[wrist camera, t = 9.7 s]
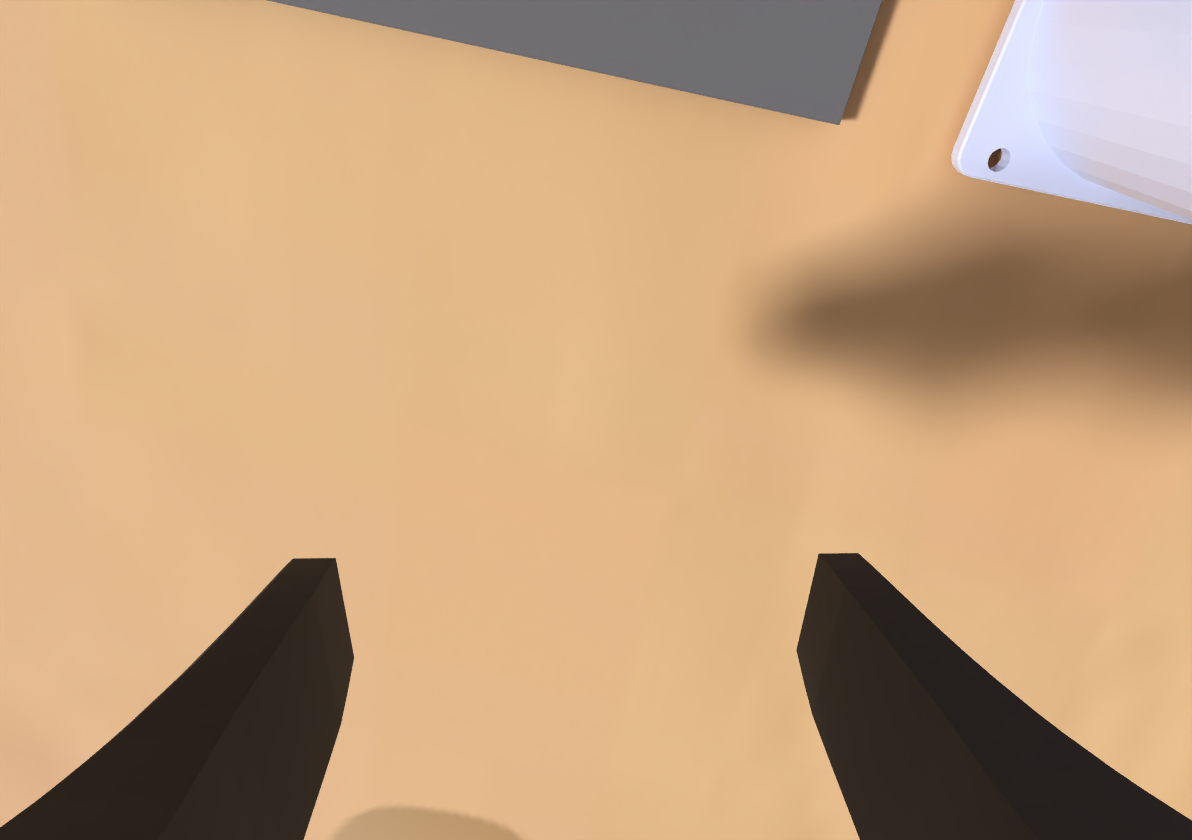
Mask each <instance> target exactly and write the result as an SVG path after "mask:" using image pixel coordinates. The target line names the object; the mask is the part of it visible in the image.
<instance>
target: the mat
mask: <svg viewBox="0 0 1192 840" xmlns="http://www.w3.org/2000/svg"><path fill="white" fill-rule="evenodd" d="M268 1H273V2H277V3H282V4H286V5H291V6H296V7H300V8H305V9H309V10H314V11H318V12H323V13H328V14H332V15H337V16H341V17H346V18H351V19H355V20H360V21H364V22H369V23H373V24H378V25H383V26H387V27H392V28H396V29H401V30H406V31H410V32H415V33H419V34H424V35H428V36H433V37H438V38H442V39H447V40H451V41H456V42H461V43H465V44H470V45H474V46H479V47H483V48H488V49H493V50H497V51H502V52H506V53H511V54H516V55H520V56H525V57H529V58H534V59H538V60H543V61H548V62H552V63H557V64H561V65H566V66H571V67H575V68H580V69H584V70H589V71H593V72H598V73H603V74H607V75H612V76H616V77H621V78H626V79H630V80H635V81H639V82H644V83H648V84H653V85H658V86H662V87H667V88H671V89H676V90H680V91H685V92H690V93H694V94H699V95H703V96H708V97H713V98H717V99H722V100H726V101H731V102H735V103H740V104H745V105H749V106H754V107H758V108H763V109H768V110H772V111H777V112H781V113H786V114H790V115H795V116H800V117H804V118H809V119H813V120H818V121H823V122H827V123H832V124H836V125H840V122H841V119H842V116H843V113H844V110H845V107H846V104H847V101H848V98H849V95H850V92H851V89H852V87H853V84H854V81H855V78H856V75H857V72H858V69H859V66H860V63H861V60H862V57H863V54H864V51H865V49H866V46H867V43H868V40H869V37H870V34H871V31H872V28H873V25H874V22H875V19H876V16H877V13H878V11H879V8H880V5H881V2H882V0H268Z"/></svg>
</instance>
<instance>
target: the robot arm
mask: <svg viewBox="0 0 1192 840" xmlns="http://www.w3.org/2000/svg"><path fill="white" fill-rule="evenodd" d="M1000 148H1001V151H1002V156H1001V159H1000V161H999V162H998V163H997V165H995V166H993V167H992V168H989V166H988V159H989V157H990V155H991V154H992V153H993V152H994V151H996V150H997V149H1000ZM951 158H952V165H953V166H954V168H955V169H956V171H958V172H960V173H962V174H964V175H966V176H968V177H972V178H976V179H981V180H986V181H990V182H995V183H1000V184H1004V185H1009V186H1014V187H1018V188H1023V189H1028V190H1033V191H1037V192H1042V193H1047V194H1051V195H1056V196H1061V197H1065V198H1070V199H1075V200H1079V201H1084V202H1089V203H1093V204H1098V205H1103V206H1108V207H1112V208H1117V209H1122V210H1126V211H1131V212H1136V213H1140V214H1145V215H1150V216H1154V217H1159V218H1164V219H1168V220H1173V221H1178V222H1183V223H1187V224H1192V0H1015V2H1014V5H1013V7H1012V10H1011V12H1010V14H1009V17H1008V19H1007V22H1006V24H1005V26H1004V29H1003V31H1002V33H1001V36H1000V38H999V41H998V43H997V45H996V48H995V50H994V53H993V55H992V57H991V60H990V62H989V65H988V67H987V69H986V72H985V74H984V76H983V79H982V81H981V84H980V86H979V88H978V91H977V93H976V96H975V98H974V100H973V103H972V105H971V108H970V110H969V112H968V115H967V117H966V119H965V122H964V124H963V127H962V129H961V131H960V134H959V136H958V139H957V141H956V143H955V146H954V148H953V152H952V156H951ZM797 654H798V658H799V663H800V667H801V671H802V675H803V680H804V684H805V688H806V692H807V696H808V700H809V703H810V707H811V711H812V715H813V717H814V720H815V723H816V726H817V728H818V731H819V734H820V736H821V739H822V742H823V744H824V747H825V750H826V752H827V755H828V758H829V760H830V763H831V766H832V768H833V771H834V773H835V776H836V779H837V781H838V784H839V786H840V789H841V791H842V794H843V797H844V799H845V802H846V804H847V807H848V810H849V812H850V815H851V817H852V820H853V823H854V825H855V828H856V830H857V833H858V836H859V838H860V840H1192V820H1190V819H1188V818H1187V817H1185V816H1184V815H1182V814H1181V813H1179V812H1178V811H1176V810H1174V809H1173V808H1171V807H1170V806H1168V805H1167V804H1165V803H1163V802H1162V801H1160V800H1159V799H1157V798H1156V797H1154V796H1153V795H1151V794H1149V793H1148V792H1146V791H1145V790H1143V789H1142V788H1140V787H1139V786H1137V785H1136V784H1134V783H1133V782H1131V781H1130V780H1129V779H1127V778H1126V777H1124V776H1123V775H1121V774H1120V773H1118V772H1117V771H1115V770H1114V769H1112V768H1111V767H1110V766H1108V765H1107V764H1105V763H1104V762H1103V761H1101V760H1100V759H1099V758H1097V757H1096V756H1094V755H1093V754H1092V753H1090V752H1089V751H1088V750H1086V749H1085V748H1083V747H1082V746H1081V745H1079V744H1078V743H1076V742H1075V741H1074V740H1072V739H1071V738H1070V737H1068V736H1067V735H1065V734H1064V733H1063V732H1061V731H1060V730H1059V729H1057V728H1056V727H1055V726H1054V725H1052V724H1051V723H1050V722H1048V721H1047V720H1046V719H1044V718H1043V717H1042V716H1041V715H1039V714H1038V713H1037V712H1035V711H1034V710H1033V709H1032V708H1031V707H1029V706H1028V705H1027V704H1026V703H1024V702H1023V701H1022V700H1021V699H1020V698H1018V697H1017V696H1016V695H1015V694H1013V693H1012V692H1011V691H1010V690H1009V689H1007V688H1006V687H1005V686H1004V685H1002V684H1001V683H1000V682H999V681H998V680H996V679H995V678H994V677H993V676H992V675H990V674H989V673H988V672H987V671H986V670H985V669H983V668H982V667H981V666H980V665H979V664H978V663H977V662H975V661H974V660H973V659H972V658H971V657H970V656H969V655H967V654H966V653H965V652H964V651H963V650H962V649H961V648H960V647H958V646H957V645H956V644H955V643H954V642H953V641H952V640H951V639H950V638H948V637H947V636H946V635H945V634H944V633H943V632H942V631H941V630H940V629H939V628H938V627H936V626H935V625H934V624H933V623H932V622H931V621H930V620H929V619H928V618H927V617H926V616H925V615H924V614H922V613H921V612H920V611H919V610H918V609H917V608H916V607H915V606H914V605H913V604H912V603H911V602H910V601H909V600H908V599H907V598H905V597H904V596H903V595H902V594H901V593H900V592H899V591H898V590H897V589H896V588H895V587H894V586H893V585H892V584H891V583H890V582H889V581H888V580H887V579H885V578H884V577H883V576H882V575H881V574H880V573H879V572H878V571H877V570H876V569H875V568H874V567H873V566H872V565H871V564H870V563H868V562H867V561H866V560H865V559H864V558H863V557H862V556H861V555H860V554H858V553H838V554H819V555H818V559H817V564H816V568H815V572H814V577H813V581H812V585H811V590H810V594H809V598H808V603H807V607H806V611H805V616H804V620H803V624H802V629H801V633H800V637H799V642H798V646H797ZM353 660H354V655H353V649H352V644H351V639H350V633H349V628H348V622H347V617H346V612H345V606H344V601H343V595H342V590H341V585H340V579H339V574H338V568H337V563H336V558H310V559H292V560H291V561H290V562H289V563H288V564H287V565H286V566H285V567H284V568H283V569H282V570H281V571H280V572H279V573H278V574H277V575H276V577H275V578H274V579H273V580H272V581H271V582H270V583H269V584H268V585H267V586H266V587H265V588H264V589H263V591H262V592H261V593H260V594H259V595H258V596H257V597H256V598H255V599H254V600H253V601H252V602H251V603H250V605H249V606H248V607H247V608H246V609H245V610H244V611H243V612H242V613H241V614H240V615H239V616H238V617H237V618H236V619H235V620H234V622H233V623H232V624H231V625H230V626H229V627H228V628H227V629H226V630H225V631H224V632H223V633H222V634H221V635H220V636H219V637H218V638H217V639H216V640H215V641H214V642H213V643H212V644H211V645H210V646H209V647H208V648H207V649H206V650H205V651H204V652H203V653H202V654H201V655H200V656H199V657H198V658H197V660H196V661H195V662H194V663H193V664H192V665H191V666H190V667H189V668H188V669H187V670H186V671H185V672H184V673H183V674H182V675H181V676H180V677H178V678H177V679H176V680H175V681H174V682H173V683H172V684H171V685H170V686H169V687H168V688H167V689H166V690H165V691H164V692H163V693H161V694H160V695H159V696H158V697H157V698H156V699H155V700H154V701H153V702H152V703H151V704H150V705H149V706H148V707H147V708H145V709H144V710H143V711H142V712H141V713H140V714H139V715H138V716H137V717H136V718H135V719H134V720H133V721H132V722H130V723H129V724H128V725H127V726H126V727H125V728H124V729H123V730H122V731H120V732H119V733H118V734H117V735H116V736H115V737H114V738H112V739H111V740H110V741H109V742H108V743H107V744H106V745H104V746H103V747H102V748H101V749H100V750H99V751H97V752H96V753H95V754H94V755H93V756H92V757H90V758H89V759H88V760H87V761H86V762H84V763H83V764H82V765H81V766H80V767H78V768H77V769H76V770H75V771H73V772H72V773H71V774H70V775H68V776H67V777H66V778H65V779H64V780H62V781H61V782H60V783H59V784H57V785H56V786H55V787H54V788H52V789H51V790H50V791H49V792H47V793H46V794H45V795H44V796H42V797H41V798H40V799H38V800H37V801H36V802H35V803H33V804H32V805H30V806H29V807H28V808H26V809H25V810H24V811H22V812H21V813H20V814H18V815H17V816H15V817H14V818H13V819H11V820H10V821H9V822H7V823H6V824H4V825H3V826H2V827H0V840H303V839H304V836H305V833H306V830H307V827H308V824H309V821H310V818H311V815H312V812H313V809H314V806H315V803H316V800H317V797H318V794H319V791H320V788H321V785H322V782H323V779H324V775H325V772H326V769H327V766H328V763H329V760H330V757H331V754H332V751H333V747H334V744H335V741H336V738H337V735H338V732H339V728H340V725H341V721H342V716H343V711H344V707H345V702H346V697H347V692H348V687H349V681H350V676H351V671H352V666H353Z"/></svg>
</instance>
